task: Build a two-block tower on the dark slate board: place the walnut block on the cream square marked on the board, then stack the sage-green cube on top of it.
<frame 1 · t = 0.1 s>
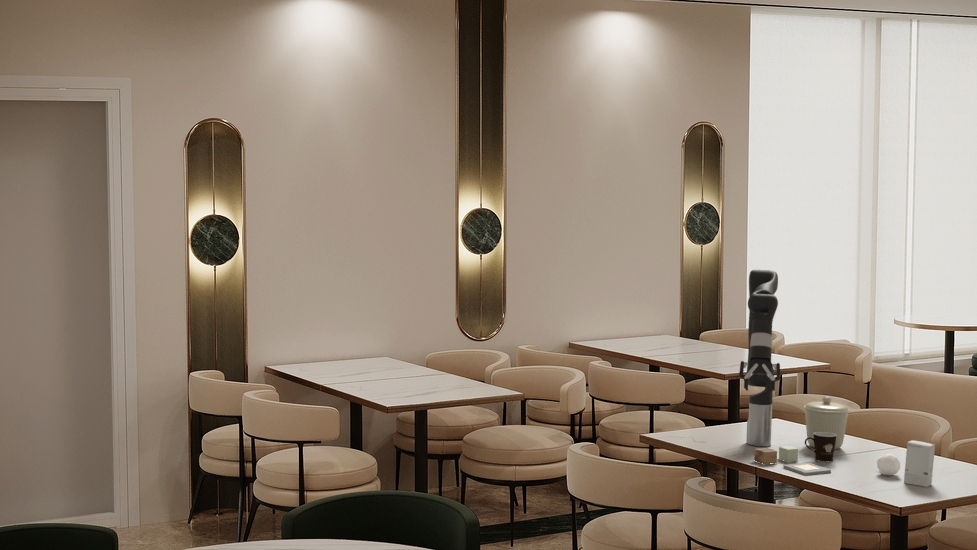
hand: (759, 391, 362), 31 cm above the table, fingers open, 8 cm apart
canister: (824, 447, 415), on the table
sage cube: (788, 460, 391), on the table
slate board: (806, 470, 376), on the table
walnut block: (765, 462, 387), on the table
coffee mug: (819, 459, 394), on the table
white rounded lump: (886, 474, 373), on the table
skincare box: (918, 484, 360), on the table
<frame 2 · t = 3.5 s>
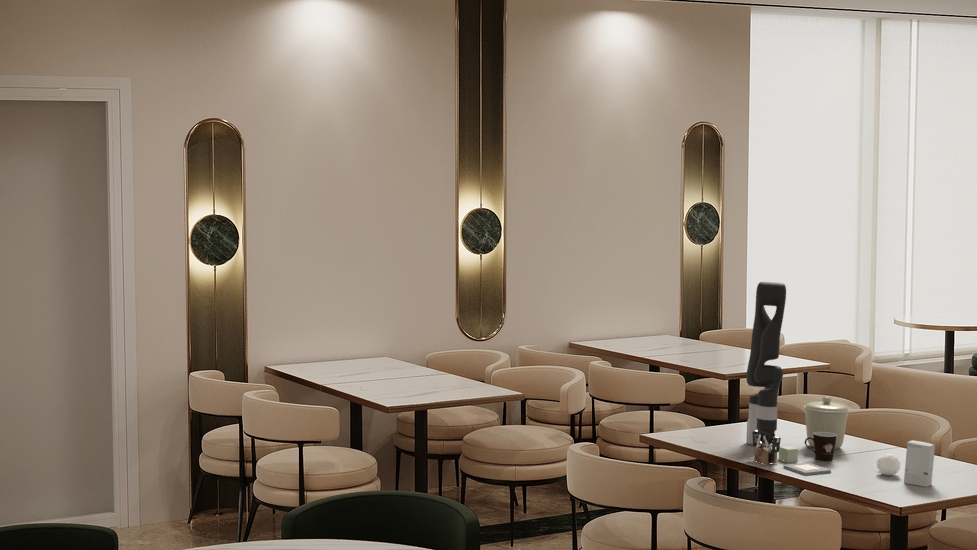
hand: (765, 460, 387), 1 cm above the table, fingers closed on walnut block, 6 cm apart
walnut block: (765, 462, 387), on the table, touching gripper
everything else where it was.
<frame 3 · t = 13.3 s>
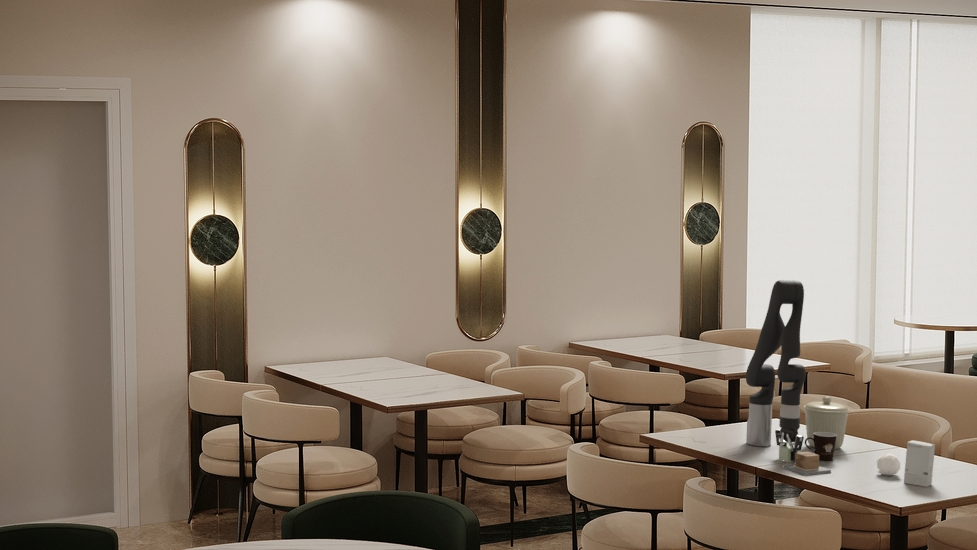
hand: (788, 459, 391), 0 cm above the table, fingers closed on sage cube, 5 cm apart
sage cube: (788, 460, 391), on the table, touching gripper
walnut block: (806, 467, 376), point 1 cm above the table, touching slate board
everything else where it was.
when the fingers open (7 cm above the table, at t = 17.9 s): sage cube stays where it is, resting on walnut block.
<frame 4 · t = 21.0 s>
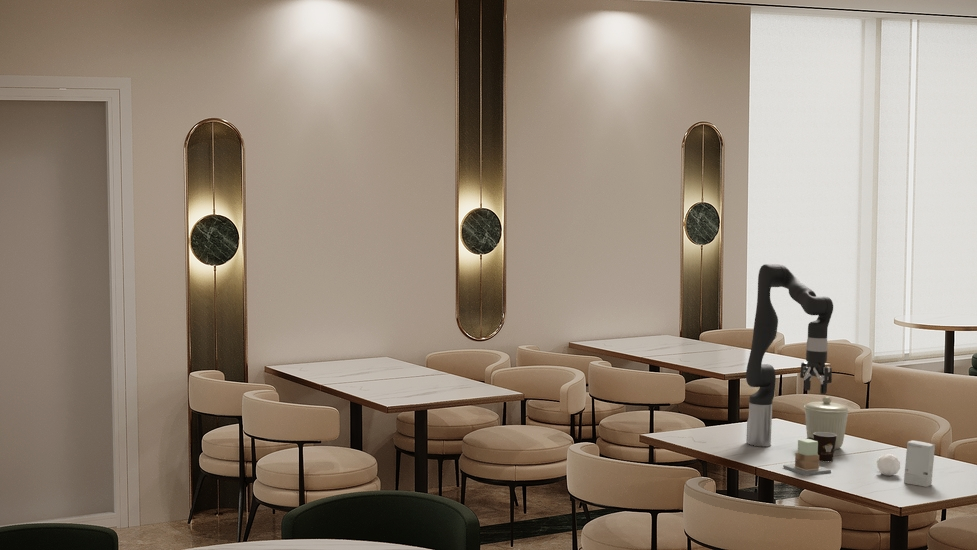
hand: (815, 392, 382), 28 cm above the table, fingers open, 8 cm apart
sage cube: (807, 454, 376), point 6 cm above the table, touching walnut block
walnut block: (806, 467, 376), point 1 cm above the table, touching sage cube, slate board
everything else where it was.
at the end: walnut block inside the target area on the slate board (0.1 cm from its centre), point 1.1 cm above the slate board's base; sage cube 0.1 cm from the walnut block (horizontally); sage cube point 6.1 cm above the table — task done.
